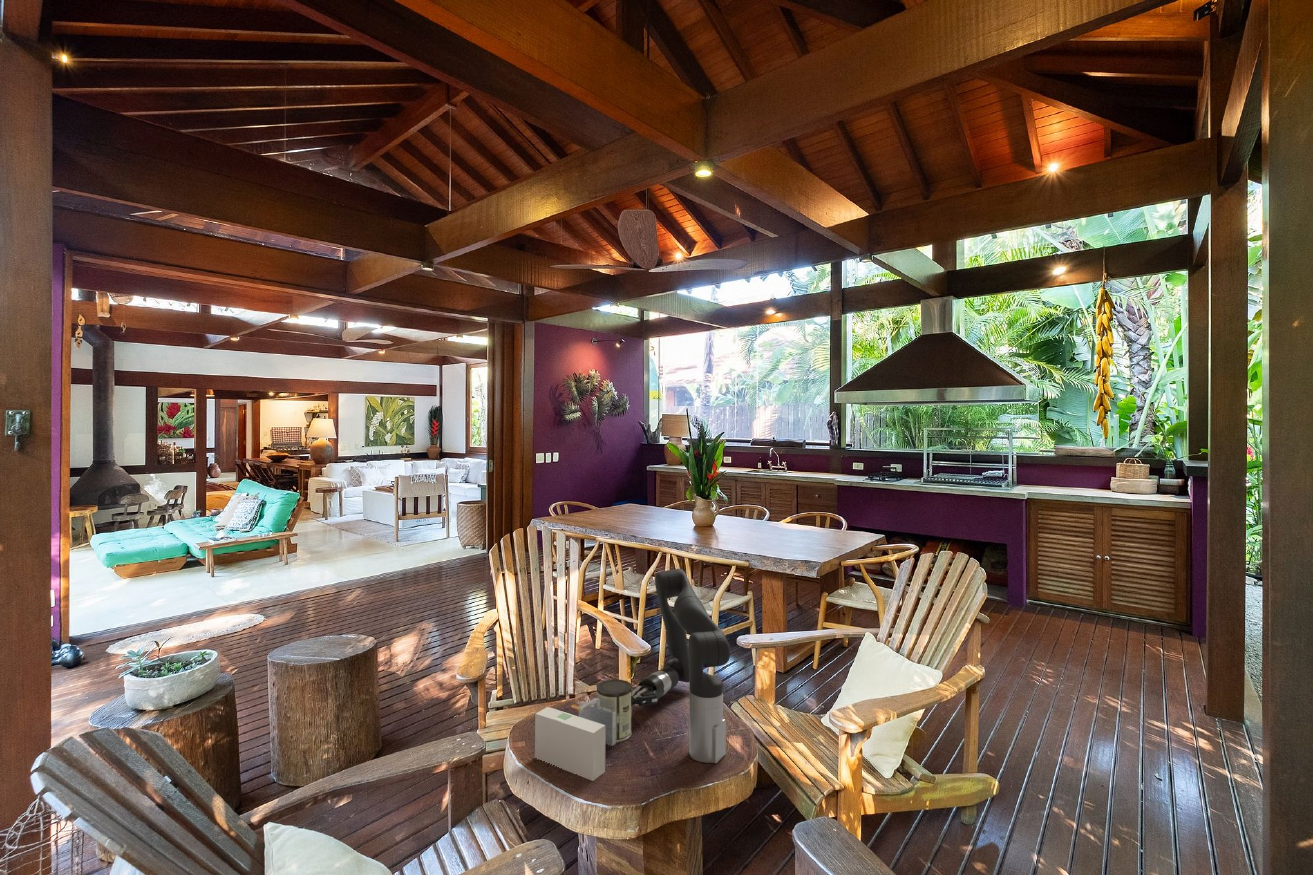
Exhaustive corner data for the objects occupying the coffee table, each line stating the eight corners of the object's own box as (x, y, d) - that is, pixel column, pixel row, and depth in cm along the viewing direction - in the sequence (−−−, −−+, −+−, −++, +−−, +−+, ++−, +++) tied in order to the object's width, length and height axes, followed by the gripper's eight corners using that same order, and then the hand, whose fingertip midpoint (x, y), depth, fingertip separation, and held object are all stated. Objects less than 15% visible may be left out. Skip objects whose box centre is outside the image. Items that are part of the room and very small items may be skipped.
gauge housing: (605, 771, 153) (605, 724, 153) (593, 781, 148) (593, 732, 148) (547, 750, 163) (548, 706, 163) (534, 758, 159) (535, 713, 159)
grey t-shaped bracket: (615, 743, 163) (615, 702, 163) (597, 756, 156) (598, 713, 157) (581, 732, 169) (582, 692, 170) (563, 743, 163) (563, 702, 163)
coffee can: (603, 723, 179) (604, 677, 179) (636, 728, 176) (636, 681, 176) (591, 740, 169) (591, 690, 169) (625, 745, 166) (625, 695, 167)
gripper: (638, 670, 195) (606, 687, 181) (672, 678, 188) (642, 697, 173) (638, 693, 195) (606, 712, 180) (672, 702, 188) (642, 723, 173)
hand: (624, 705), depth 177 cm, fingers closed
